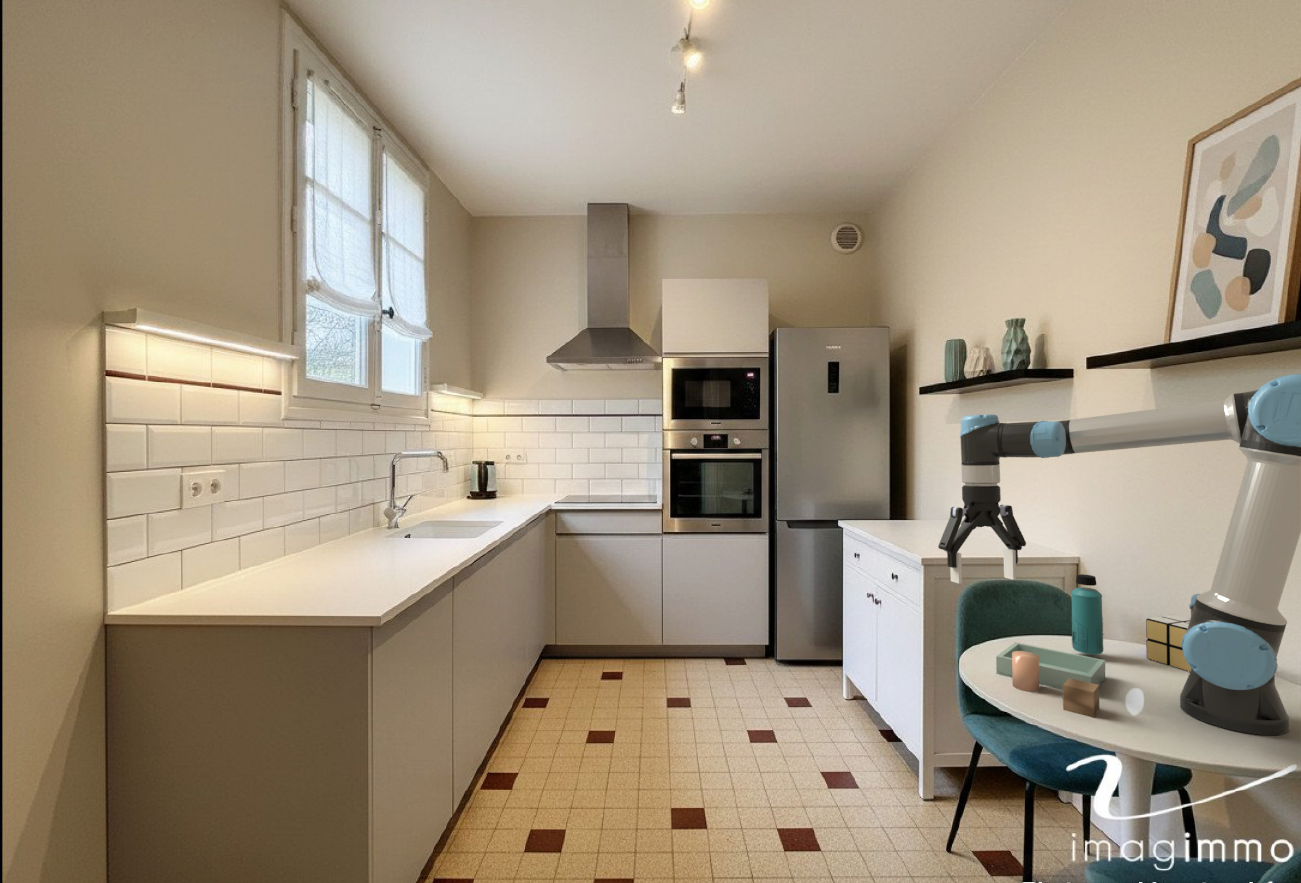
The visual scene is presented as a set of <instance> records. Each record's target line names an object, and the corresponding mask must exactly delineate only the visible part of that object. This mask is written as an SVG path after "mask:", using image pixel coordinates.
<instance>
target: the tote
mask: <svg viewBox="0 0 1301 883" xmlns="http://www.w3.org/2000/svg"><path fill="white" fill-rule="evenodd" d="M1014 651H1026V652H1031V653H1034V654H1037V655H1038V656H1039V683H1040V685H1042V686H1047V687H1050V688H1055V689H1059V690H1063V684H1064V683H1065V682H1066V681H1067V680H1068V679H1069V678H1071V679H1075V680H1080V681H1084V682H1089V683H1093V684H1097V685H1099V687H1100V686H1101V685H1102V683H1103V682H1104V681H1105V679H1106V660H1105V659H1101V658H1095V657H1091V656H1087V655H1086V656H1085V655H1081V654H1075V653H1072V652H1066V651H1062V650H1056V649H1051V648H1046V647H1041V646H1036V645H1031V644H1028V643H1027V644H1026V643H1021V642H1013V643H1012V644H1010V645H1009V646H1008V647H1007V648H1005V649H1004V650H1003V651H1001V652H999V654H997V655H996V656H995V658H996V660H995V661H996V663H995V664H996V669H995V671H996V674H997V675H1000V676H1005V677H1008V678H1009V677H1010V678H1012V652H1014Z"/></svg>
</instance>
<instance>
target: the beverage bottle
mask: <svg viewBox="0 0 1301 883" xmlns="http://www.w3.org/2000/svg"><path fill="white" fill-rule="evenodd" d="M1075 584H1078V585H1082V586H1089V587H1082V586H1081V587H1075V588H1074V589H1073V590H1071V592H1070V593H1071V634H1070V635H1071V645H1072V648H1073V650H1075V651H1076V652H1078V653H1081V654H1087V655H1102V654H1103V652H1104V633H1103V632H1104V621H1103V620H1104V618H1103V595H1102V593H1101V592H1100V591H1098V590H1097V589H1095V588H1091V587H1090V586H1094V587H1095V586H1097V579H1096V576H1095V575H1092V574H1083V573H1081V574H1077V575H1076V580H1075Z"/></svg>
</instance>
